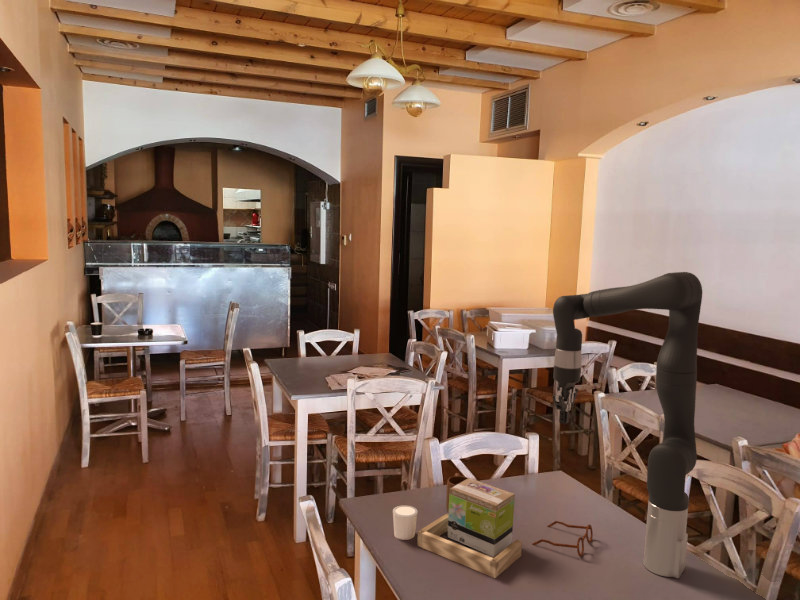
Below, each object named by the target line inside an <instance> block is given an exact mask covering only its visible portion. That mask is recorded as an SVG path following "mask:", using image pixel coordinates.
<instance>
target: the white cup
mask: <svg viewBox="0 0 800 600" xmlns="http://www.w3.org/2000/svg"><path fill="white" fill-rule="evenodd" d="M418 512H419V511H418V509H417V508H416V507H414V506H412V505H397V506H395V507H394V508H393V509H392V520H393V534H394V535H393V536H394V537H395V538H396V539H398V540H402V541H404V540H405V541H407V540H408V541H409V540H411V539H413V538H414V537H415V536H416V535H415V534H416V530H417V529H416V528H417V521H418Z"/></svg>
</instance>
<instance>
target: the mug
mask: <svg viewBox="0 0 800 600" xmlns="http://www.w3.org/2000/svg"><path fill="white" fill-rule="evenodd" d="M468 478H469V477H466V476H462V475H461V474H460V473H459V472H456V473H455V474H454V475H453V476H449V478H447V483H446V499H445V500H446V501H445V507H446V508H445V509H446V511H447V512H448V513H449V495H450V488H452V487H454V486H456V485H457V484H459V483H461V482H463V481H464V480H466V479H468Z"/></svg>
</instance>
